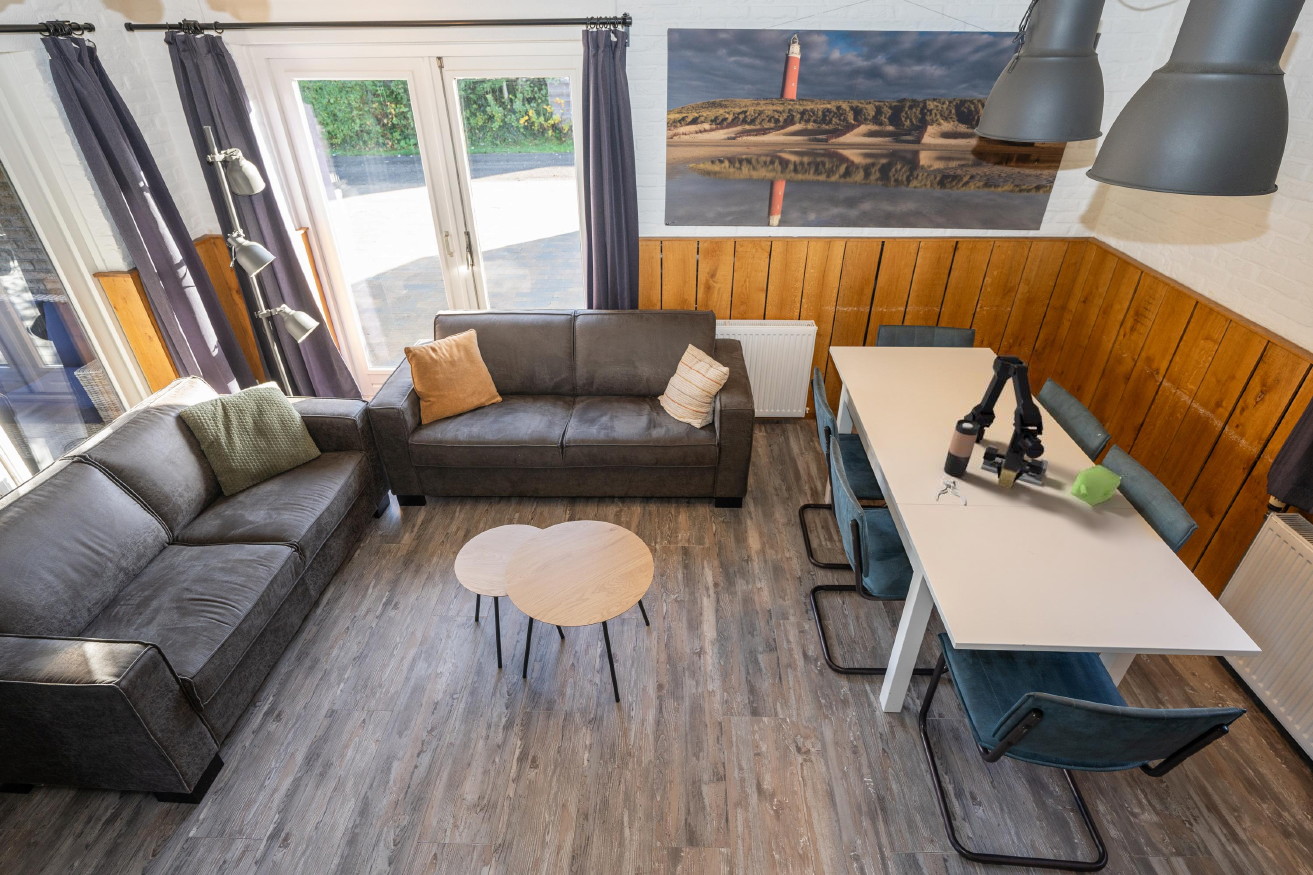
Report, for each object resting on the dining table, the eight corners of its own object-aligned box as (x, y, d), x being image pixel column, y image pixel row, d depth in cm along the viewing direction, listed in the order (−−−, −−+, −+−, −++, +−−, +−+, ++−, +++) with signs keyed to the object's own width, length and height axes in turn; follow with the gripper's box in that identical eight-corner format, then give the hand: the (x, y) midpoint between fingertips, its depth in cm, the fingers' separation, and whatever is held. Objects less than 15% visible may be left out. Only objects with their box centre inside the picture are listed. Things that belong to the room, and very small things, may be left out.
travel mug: (965, 469, 246) (980, 422, 236) (964, 479, 240) (979, 431, 230) (943, 464, 248) (957, 417, 238) (942, 474, 242) (956, 426, 232)
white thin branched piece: (936, 496, 228) (933, 473, 240) (934, 500, 229) (932, 477, 241) (966, 502, 225) (962, 478, 238) (965, 506, 226) (961, 482, 239)
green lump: (1087, 512, 225) (1098, 490, 220) (1061, 496, 232) (1071, 474, 227) (1120, 498, 232) (1132, 477, 227) (1094, 483, 239) (1104, 461, 234)
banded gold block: (1010, 488, 235) (1015, 475, 233) (997, 484, 237) (1001, 471, 235) (1013, 480, 240) (1017, 467, 237) (999, 476, 242) (1004, 463, 239)
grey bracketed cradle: (980, 468, 246) (985, 454, 243) (985, 456, 254) (990, 442, 251) (1040, 485, 237) (1046, 471, 234) (1043, 473, 245) (1049, 459, 242)
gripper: (986, 445, 228) (974, 482, 236) (1046, 461, 220) (1032, 499, 228) (991, 431, 237) (979, 468, 245) (1050, 447, 228) (1035, 484, 236)
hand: (1006, 480), depth 238 cm, fingers closed on banded gold block, 5 cm apart
